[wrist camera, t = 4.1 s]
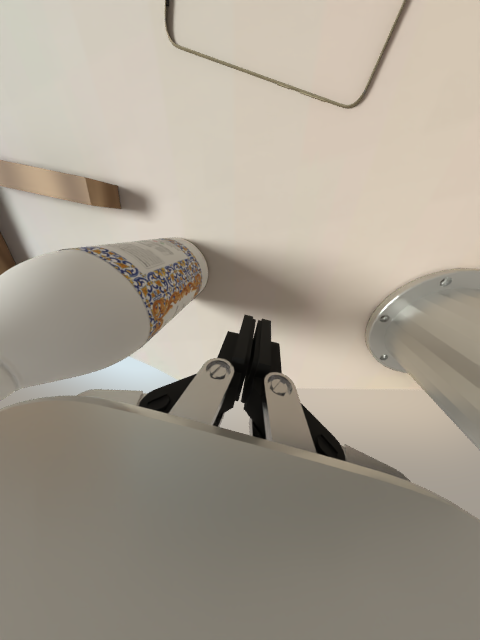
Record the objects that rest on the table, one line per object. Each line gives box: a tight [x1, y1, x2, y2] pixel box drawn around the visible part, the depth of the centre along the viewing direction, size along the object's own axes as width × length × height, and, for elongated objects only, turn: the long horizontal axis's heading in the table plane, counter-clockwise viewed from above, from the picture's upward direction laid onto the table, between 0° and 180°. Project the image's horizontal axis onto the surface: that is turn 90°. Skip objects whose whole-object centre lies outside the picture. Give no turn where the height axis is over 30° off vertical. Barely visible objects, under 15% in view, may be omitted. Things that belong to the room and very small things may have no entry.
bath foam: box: [0, 238, 208, 401], centre depth 12 cm, size 7×7×20 cm
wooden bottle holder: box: [0, 160, 121, 275], centre depth 20 cm, size 20×14×4 cm
